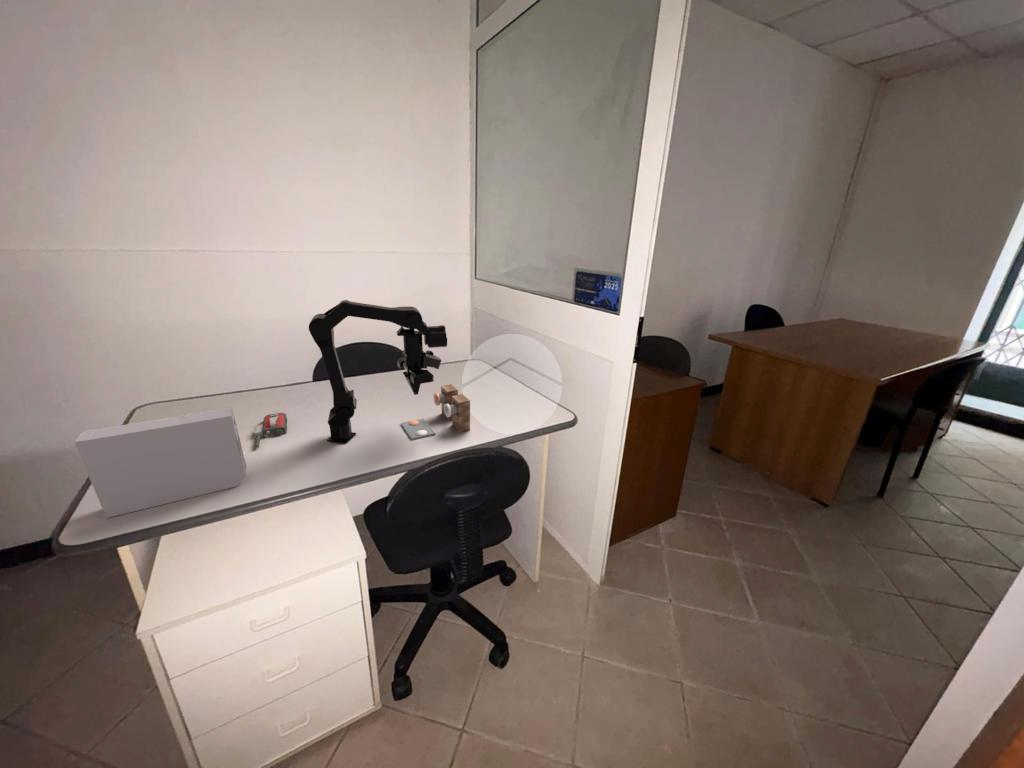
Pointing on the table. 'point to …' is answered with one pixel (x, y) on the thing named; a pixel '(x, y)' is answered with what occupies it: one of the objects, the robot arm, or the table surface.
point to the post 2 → (461, 413)
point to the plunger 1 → (439, 398)
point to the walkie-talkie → (271, 427)
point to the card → (417, 429)
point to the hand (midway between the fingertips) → (415, 394)
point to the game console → (162, 460)
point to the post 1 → (448, 396)
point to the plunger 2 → (450, 409)
